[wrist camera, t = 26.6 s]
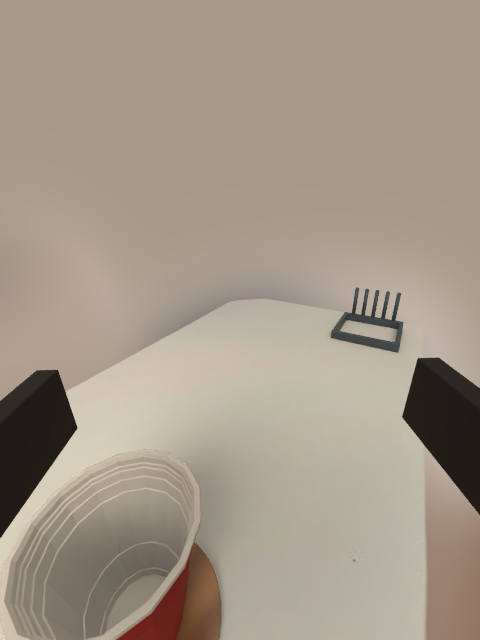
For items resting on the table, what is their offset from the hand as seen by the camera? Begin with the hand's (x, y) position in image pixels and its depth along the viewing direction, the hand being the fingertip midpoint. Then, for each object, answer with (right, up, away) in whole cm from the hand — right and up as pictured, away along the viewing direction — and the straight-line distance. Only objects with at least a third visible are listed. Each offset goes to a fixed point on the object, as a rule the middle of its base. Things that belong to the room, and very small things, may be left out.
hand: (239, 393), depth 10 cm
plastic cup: (-8, -20, +11) cm, 24 cm away
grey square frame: (+31, 0, +57) cm, 65 cm away
